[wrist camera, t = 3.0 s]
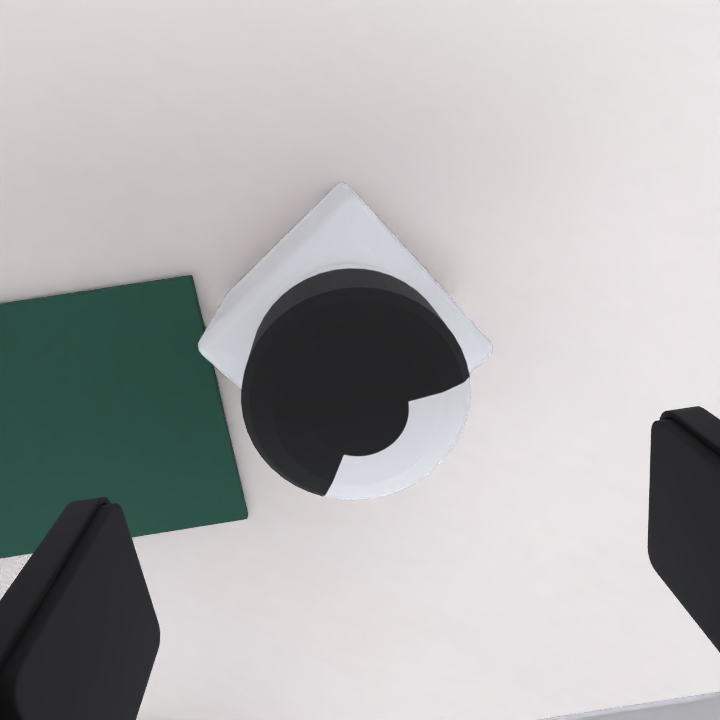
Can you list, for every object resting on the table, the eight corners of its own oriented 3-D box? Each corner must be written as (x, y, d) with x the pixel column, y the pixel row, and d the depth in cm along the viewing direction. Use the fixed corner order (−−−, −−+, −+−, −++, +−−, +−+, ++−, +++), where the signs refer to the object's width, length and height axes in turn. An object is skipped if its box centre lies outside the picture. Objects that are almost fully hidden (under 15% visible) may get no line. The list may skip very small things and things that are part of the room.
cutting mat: (-39, 560, 29) (-44, 565, 29) (-142, 324, 25) (-149, 327, 25) (248, 514, 30) (247, 519, 29) (192, 274, 26) (190, 276, 25)
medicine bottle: (221, 297, 26) (153, 412, 15) (341, 178, 25) (367, 204, 14) (337, 405, 28) (353, 578, 17) (453, 300, 27) (555, 411, 16)
